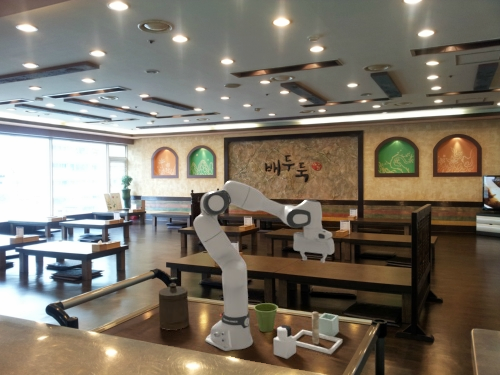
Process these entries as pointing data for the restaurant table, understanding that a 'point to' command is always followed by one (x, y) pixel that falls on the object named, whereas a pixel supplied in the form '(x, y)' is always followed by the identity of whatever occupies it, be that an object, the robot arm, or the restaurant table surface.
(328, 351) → the melamine tray
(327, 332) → the celadon cup
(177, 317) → the wooden container
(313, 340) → the beech dowel
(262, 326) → the plant pot
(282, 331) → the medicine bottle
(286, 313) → the restaurant table surface
